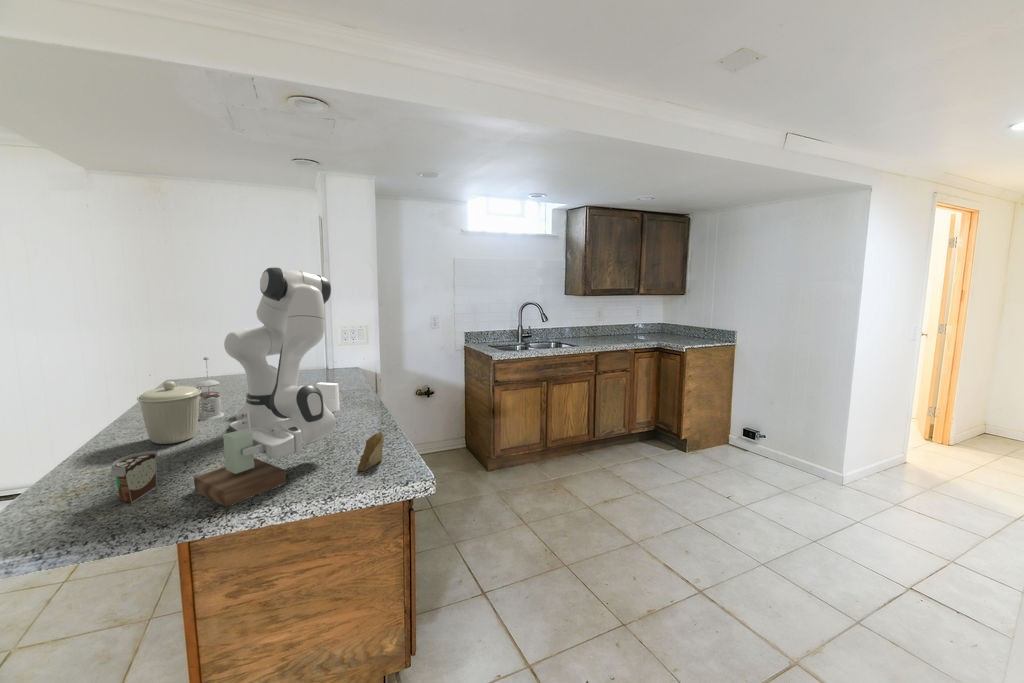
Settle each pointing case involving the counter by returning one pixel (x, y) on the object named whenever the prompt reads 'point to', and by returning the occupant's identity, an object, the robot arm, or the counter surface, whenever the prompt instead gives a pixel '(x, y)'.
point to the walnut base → (239, 482)
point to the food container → (135, 475)
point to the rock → (372, 452)
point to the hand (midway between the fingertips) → (235, 450)
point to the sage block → (238, 451)
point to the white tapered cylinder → (330, 395)
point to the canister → (170, 412)
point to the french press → (209, 400)
